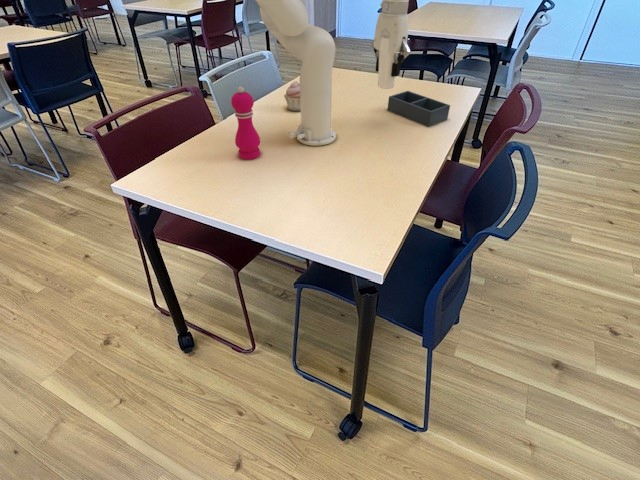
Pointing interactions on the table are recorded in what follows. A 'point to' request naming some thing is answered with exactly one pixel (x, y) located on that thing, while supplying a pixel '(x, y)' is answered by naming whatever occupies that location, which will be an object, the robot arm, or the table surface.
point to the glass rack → (418, 108)
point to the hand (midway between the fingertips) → (387, 72)
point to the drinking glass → (385, 65)
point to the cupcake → (293, 97)
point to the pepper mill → (245, 125)
